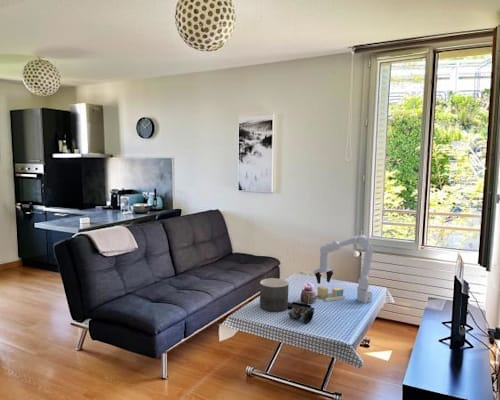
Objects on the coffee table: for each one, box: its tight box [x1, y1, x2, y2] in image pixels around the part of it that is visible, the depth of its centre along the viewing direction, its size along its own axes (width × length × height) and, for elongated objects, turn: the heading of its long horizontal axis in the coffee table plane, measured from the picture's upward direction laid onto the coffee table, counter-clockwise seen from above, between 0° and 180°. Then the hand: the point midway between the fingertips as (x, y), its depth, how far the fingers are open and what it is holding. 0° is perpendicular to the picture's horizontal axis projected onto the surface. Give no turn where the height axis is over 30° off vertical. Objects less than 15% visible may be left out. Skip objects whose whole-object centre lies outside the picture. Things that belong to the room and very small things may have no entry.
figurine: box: [287, 306, 314, 325], centre depth 223 cm, size 9×8×15 cm
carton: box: [317, 285, 329, 298], centre depth 259 cm, size 6×4×6 cm, turn 24°
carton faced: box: [331, 287, 344, 297], centre depth 257 cm, size 6×4×6 cm, turn 114°
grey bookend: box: [316, 292, 346, 302], centre depth 259 cm, size 12×15×3 cm
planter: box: [259, 277, 289, 313], centre depth 242 cm, size 18×18×16 cm
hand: (323, 282), depth 260 cm, fingers open, 7 cm apart
